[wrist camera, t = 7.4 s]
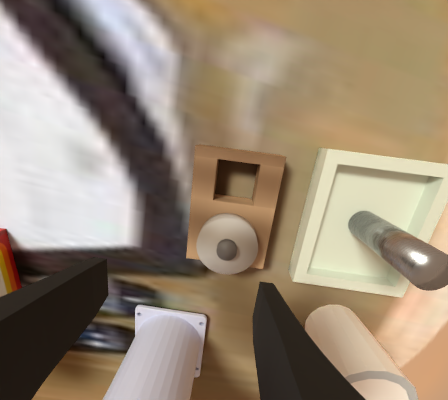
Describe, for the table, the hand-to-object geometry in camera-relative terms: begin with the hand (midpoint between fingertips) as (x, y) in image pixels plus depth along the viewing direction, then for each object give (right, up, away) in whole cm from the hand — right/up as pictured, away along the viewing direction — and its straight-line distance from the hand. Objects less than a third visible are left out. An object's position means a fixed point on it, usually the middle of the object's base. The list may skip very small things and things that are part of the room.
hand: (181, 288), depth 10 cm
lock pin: (+14, +2, +9) cm, 17 cm away
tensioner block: (+3, +4, +10) cm, 11 cm away
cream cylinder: (+14, -9, +13) cm, 21 cm away
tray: (+14, +2, +9) cm, 17 cm away
